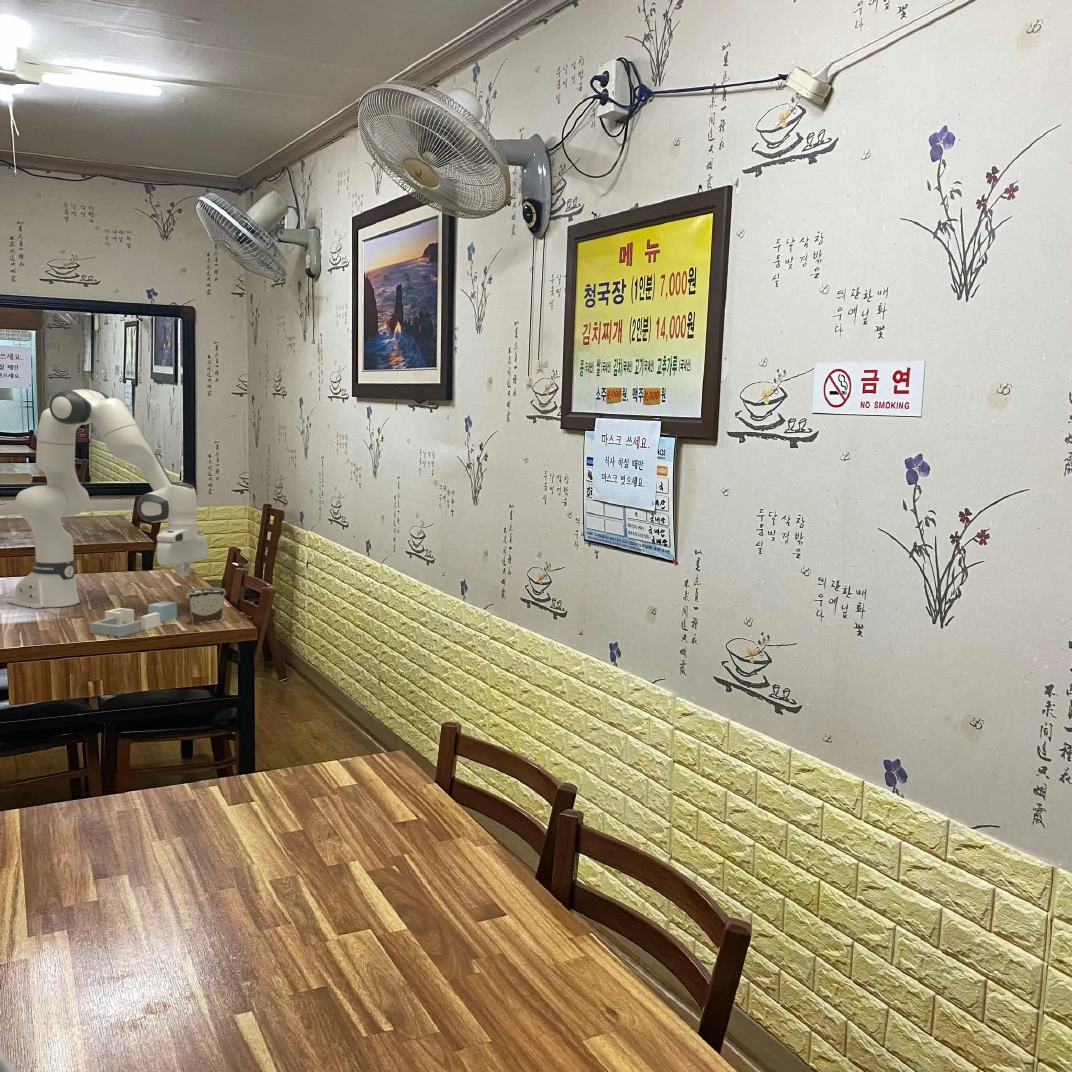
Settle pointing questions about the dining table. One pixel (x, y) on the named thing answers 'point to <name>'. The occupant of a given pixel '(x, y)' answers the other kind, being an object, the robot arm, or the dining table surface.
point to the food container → (206, 604)
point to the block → (164, 610)
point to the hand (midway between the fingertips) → (183, 576)
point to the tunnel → (128, 616)
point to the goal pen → (115, 627)
